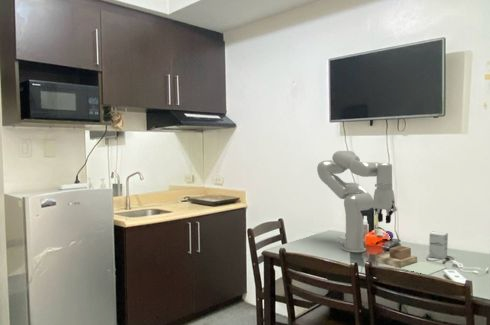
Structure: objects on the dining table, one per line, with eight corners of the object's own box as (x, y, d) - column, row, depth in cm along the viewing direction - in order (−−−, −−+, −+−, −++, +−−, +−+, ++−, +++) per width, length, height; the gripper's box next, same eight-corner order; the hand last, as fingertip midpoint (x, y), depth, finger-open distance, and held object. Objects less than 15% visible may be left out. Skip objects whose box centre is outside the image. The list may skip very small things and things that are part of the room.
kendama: (368, 237, 234) (385, 230, 247) (370, 247, 234) (387, 239, 247) (377, 237, 230) (393, 229, 243) (379, 246, 229) (395, 239, 242)
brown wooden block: (389, 257, 193) (389, 248, 192) (399, 254, 198) (399, 245, 198) (400, 259, 188) (400, 250, 188) (410, 256, 193) (410, 247, 193)
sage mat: (400, 268, 183) (400, 268, 183) (420, 262, 194) (420, 261, 194) (426, 275, 173) (426, 274, 173) (446, 268, 183) (446, 267, 183)
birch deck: (376, 261, 196) (376, 255, 196) (391, 256, 204) (391, 251, 204) (401, 267, 185) (401, 261, 185) (417, 262, 193) (417, 256, 193)
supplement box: (428, 257, 203) (428, 233, 203) (432, 254, 209) (432, 230, 208) (444, 259, 198) (444, 235, 198) (447, 256, 204) (448, 232, 204)
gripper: (366, 186, 204) (366, 220, 204) (394, 188, 190) (394, 225, 191) (374, 185, 208) (374, 219, 209) (403, 187, 195) (403, 223, 195)
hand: (384, 222), depth 200 cm, fingers open, 3 cm apart
